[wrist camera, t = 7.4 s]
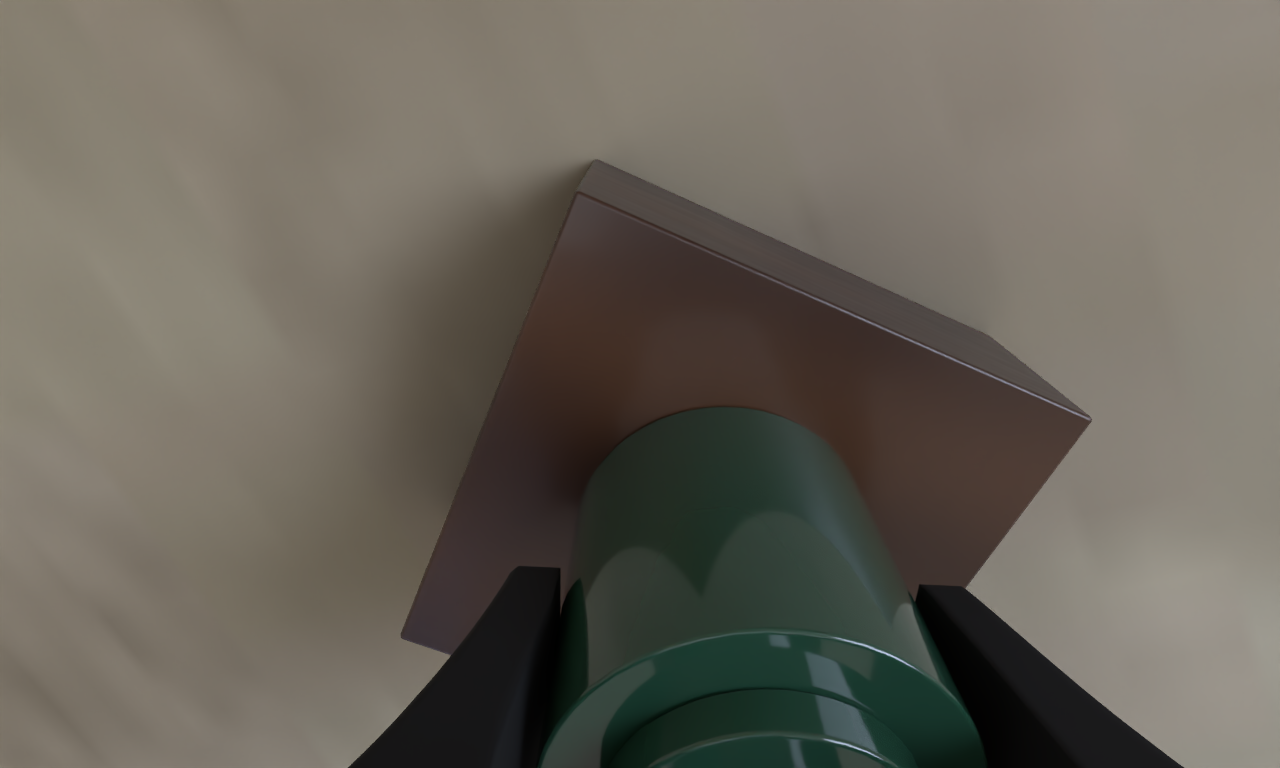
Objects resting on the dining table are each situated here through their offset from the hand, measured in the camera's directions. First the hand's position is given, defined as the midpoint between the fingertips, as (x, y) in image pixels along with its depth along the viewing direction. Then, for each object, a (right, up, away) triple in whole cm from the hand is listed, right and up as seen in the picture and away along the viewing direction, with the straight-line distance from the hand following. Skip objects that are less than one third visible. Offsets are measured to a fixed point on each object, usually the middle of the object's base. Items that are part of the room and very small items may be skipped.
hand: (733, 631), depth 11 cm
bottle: (0, +1, +2) cm, 2 cm away
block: (0, +2, +6) cm, 6 cm away
